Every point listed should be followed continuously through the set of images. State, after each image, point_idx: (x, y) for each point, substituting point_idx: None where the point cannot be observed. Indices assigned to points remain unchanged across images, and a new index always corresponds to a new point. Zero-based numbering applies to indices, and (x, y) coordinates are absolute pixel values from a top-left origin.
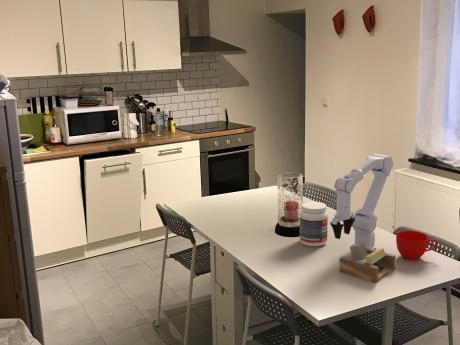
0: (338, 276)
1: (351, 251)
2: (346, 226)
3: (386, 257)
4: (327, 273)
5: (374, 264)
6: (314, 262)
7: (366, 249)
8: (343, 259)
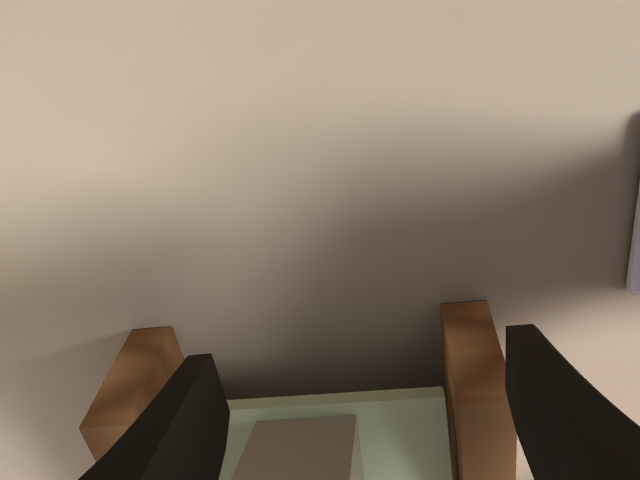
0: (67, 366)
1: (234, 477)
2: (556, 469)
3: None
4: (20, 289)
5: (448, 431)
6: (49, 53)
7: (462, 478)
8: (95, 451)
